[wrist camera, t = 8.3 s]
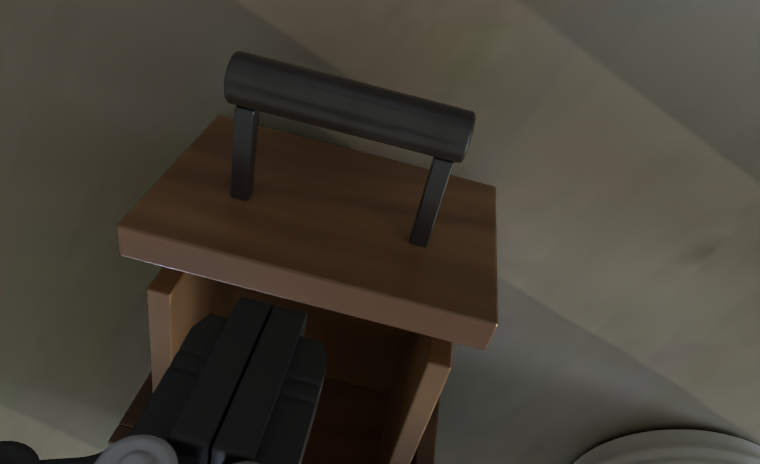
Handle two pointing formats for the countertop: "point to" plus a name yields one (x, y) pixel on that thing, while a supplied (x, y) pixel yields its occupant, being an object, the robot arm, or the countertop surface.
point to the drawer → (329, 246)
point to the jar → (674, 449)
